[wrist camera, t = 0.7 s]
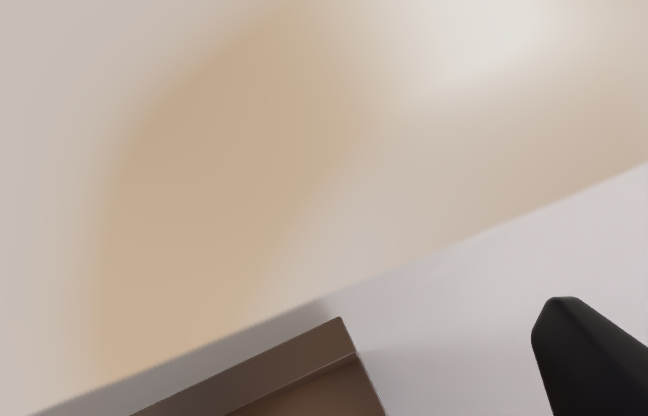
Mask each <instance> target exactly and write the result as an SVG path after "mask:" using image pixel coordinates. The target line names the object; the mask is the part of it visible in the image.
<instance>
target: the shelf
mask: <svg viewBox="0 0 648 416" xmlns="http://www.w3.org/2000/svg"><path fill="white" fill-rule="evenodd" d="M130 416H387V414H386V411H385V409H384V407H383V405H382V403H381V401H380V398H379V396H378V394H377V392H376V390H375V388H374V385H373V383H372V381H371V379H370V377H369V375H368V372H367V370H366V368H365V366H364V364H363V362H362V359H361V357H360V355H359V353H358V351H357V349H356V347H355V345H354V343H353V341H352V339H351V337H350V335H349V333H348V331H347V329H346V327H345V324H344V322H343V320H342V318H341V317H337V318H335V319H332V320H330V321H328V322H326V323H324V324H322V325H320V326H318V327H316V328H313V329H311V330H309V331H307V332H305V333H303V334H301V335H299V336H297V337H294V338H292V339H290V340H288V341H286V342H284V343H282V344H280V345H278V346H275V347H273V348H271V349H269V350H267V351H265V352H263V353H261V354H259V355H256V356H254V357H252V358H250V359H248V360H246V361H244V362H242V363H240V364H237V365H235V366H233V367H231V368H229V369H227V370H225V371H223V372H221V373H218V374H216V375H214V376H212V377H210V378H208V379H206V380H204V381H202V382H200V383H197V384H195V385H193V386H191V387H189V388H187V389H185V390H183V391H181V392H178V393H176V394H174V395H172V396H170V397H168V398H166V399H164V400H162V401H159V402H157V403H155V404H153V405H151V406H149V407H147V408H145V409H143V410H140V411H138V412H136V413H134V414H132V415H130Z"/></svg>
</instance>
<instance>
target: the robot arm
mask: <svg viewBox="0 0 648 416" xmlns="http://www.w3.org/2000/svg"><path fill="white" fill-rule="evenodd" d="M531 344H532V348H533V351H534V355H535V358H536V361H537V364H538V367H539V371H540V374H541V377H542V380H543V383H544V387H545V390H546V393H547V396H548V400H549V403H550V406H551V409H552V412H553V416H648V347H646V346H645V345H644V344H642V343H641V342H639V341H638V340H637V339H635V338H634V337H632V336H631V335H629V334H628V333H627V332H625V331H624V330H622V329H621V328H620V327H618V326H617V325H615V324H614V323H612V322H611V321H610V320H608V319H607V318H605V317H604V316H603V315H601V314H600V313H598V312H597V311H595V310H594V309H593V308H591V307H590V306H588V305H587V304H586V303H584V302H583V301H581V300H580V299H578V298H576V297H571V296H568V297H552V298H550V299H549V300H547V302H546V303H545V305H544V307H543V309H542V311H541V313H540V315H539V317H538V319H537V321H536V323H535V325H534V327H533V329H532V333H531Z"/></svg>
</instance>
